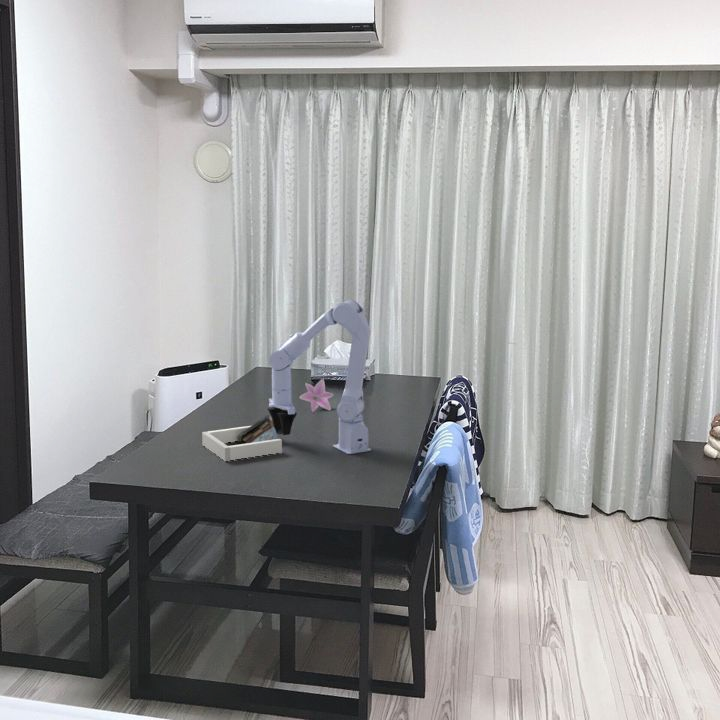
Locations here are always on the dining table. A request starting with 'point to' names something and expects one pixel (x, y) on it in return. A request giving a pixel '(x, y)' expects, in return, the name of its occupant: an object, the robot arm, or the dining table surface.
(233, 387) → the dining table surface
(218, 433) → the socket bay
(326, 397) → the lily
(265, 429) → the chocolate cake
